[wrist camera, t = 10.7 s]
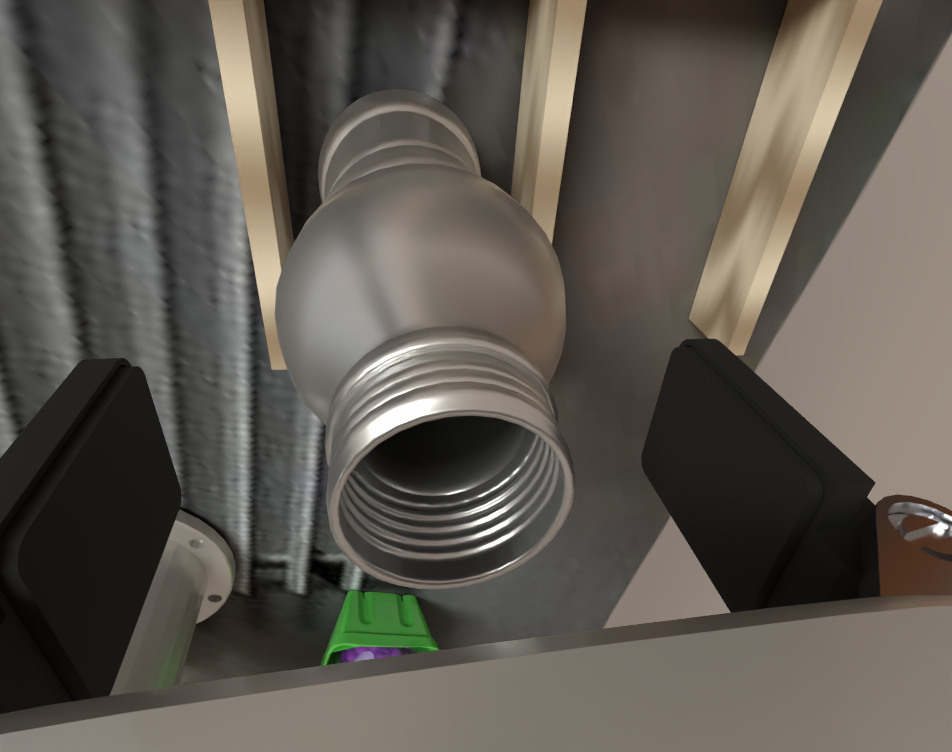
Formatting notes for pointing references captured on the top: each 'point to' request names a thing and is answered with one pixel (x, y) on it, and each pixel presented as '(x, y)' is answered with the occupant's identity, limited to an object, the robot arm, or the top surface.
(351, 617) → the fruit basket
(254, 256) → the divider rack
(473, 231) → the plastic bottle
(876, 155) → the top surface
